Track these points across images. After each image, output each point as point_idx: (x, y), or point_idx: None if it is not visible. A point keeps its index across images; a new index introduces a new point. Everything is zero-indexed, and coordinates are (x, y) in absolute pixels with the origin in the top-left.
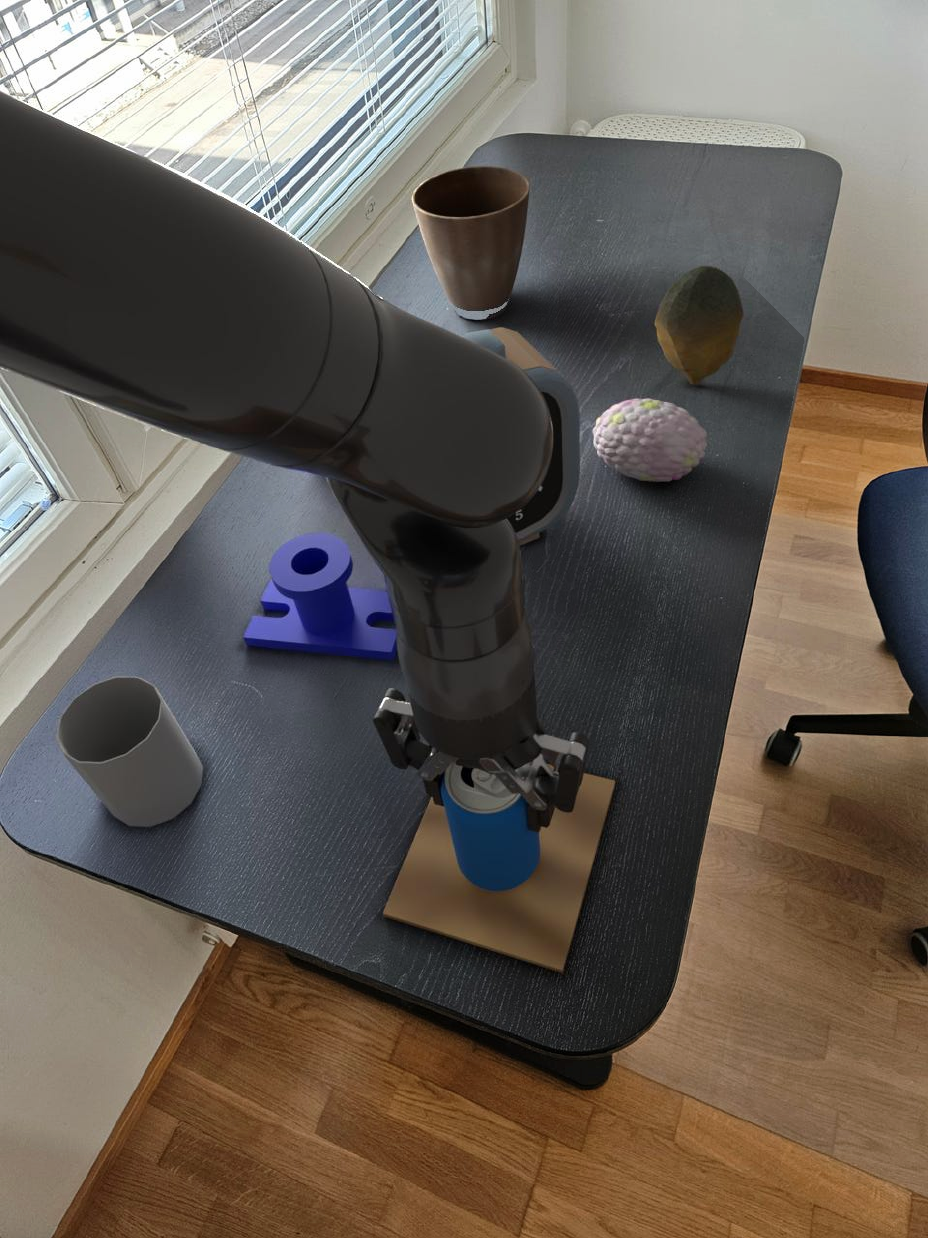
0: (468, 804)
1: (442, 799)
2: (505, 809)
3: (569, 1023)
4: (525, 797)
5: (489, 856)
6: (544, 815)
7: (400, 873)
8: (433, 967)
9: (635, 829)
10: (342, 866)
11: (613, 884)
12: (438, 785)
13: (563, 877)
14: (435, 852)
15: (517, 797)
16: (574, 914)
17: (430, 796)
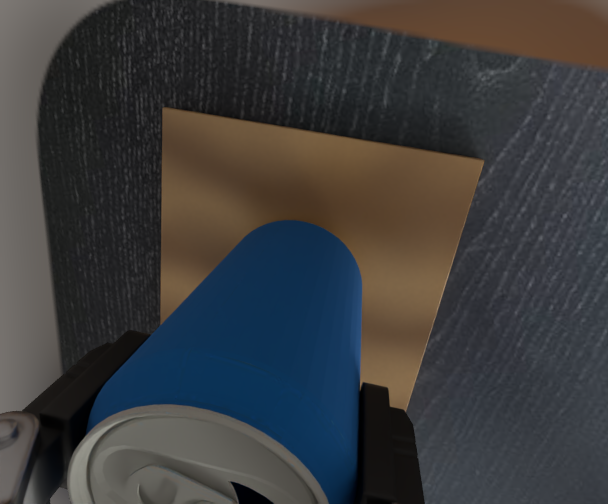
0: (228, 433)
1: (363, 407)
2: (112, 414)
3: (140, 26)
4: (13, 471)
5: (247, 270)
6: (68, 381)
7: (459, 236)
8: (376, 80)
9: (125, 328)
10: (572, 241)
11: (133, 252)
12: (362, 475)
13: (194, 254)
14: (400, 277)
15: (72, 457)
16: (165, 200)
17: (400, 409)
